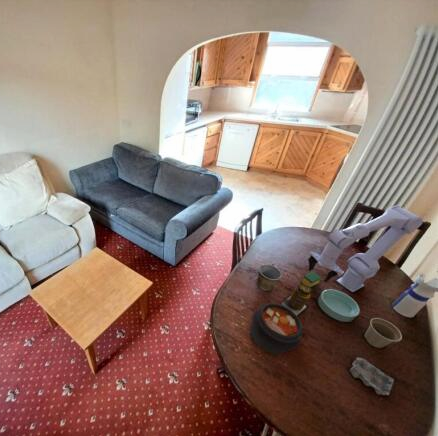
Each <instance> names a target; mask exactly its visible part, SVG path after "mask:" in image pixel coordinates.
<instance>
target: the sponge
mask: <svg viewBox="0 0 438 436" xmlns="http://www.w3.org/2000/svg"><path fill="white" fill-rule="evenodd" d="M321 280H322V276H321V275H320V274H318V273H316V272H315V271H313V270H312V271H310V272H309V273H306V274H305V275H303V277H302V279H301V281H300V283H301V284H305V285H307V286H309V287H310V288H312V287H314V286H316V285H318V284H319V283H320V281H321Z"/></svg>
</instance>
